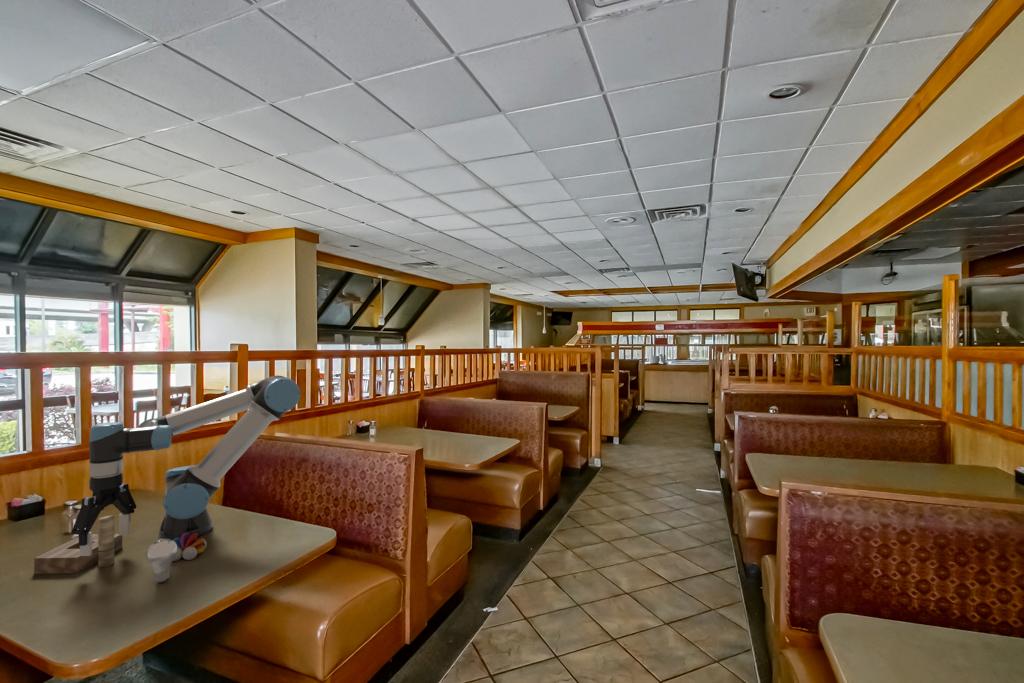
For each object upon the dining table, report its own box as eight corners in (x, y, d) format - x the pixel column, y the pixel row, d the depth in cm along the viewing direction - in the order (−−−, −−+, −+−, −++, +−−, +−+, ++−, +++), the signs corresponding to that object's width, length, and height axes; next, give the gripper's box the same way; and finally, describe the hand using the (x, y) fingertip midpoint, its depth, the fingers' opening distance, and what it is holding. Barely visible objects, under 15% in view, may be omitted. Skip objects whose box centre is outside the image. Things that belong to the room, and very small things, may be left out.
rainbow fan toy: (197, 561, 138) (197, 538, 138) (162, 563, 137) (162, 540, 137) (210, 548, 147) (211, 526, 147) (178, 550, 145) (178, 528, 145)
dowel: (117, 560, 138) (117, 515, 138) (107, 567, 134) (107, 520, 134) (105, 561, 138) (105, 515, 138) (94, 567, 134) (94, 520, 134)
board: (122, 547, 147) (122, 533, 147) (77, 572, 131) (77, 557, 131) (83, 548, 146) (83, 534, 146) (34, 573, 130) (34, 558, 130)
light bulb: (152, 591, 122) (152, 547, 122) (141, 584, 125) (141, 541, 125) (182, 579, 128) (182, 537, 127) (171, 573, 131) (171, 532, 131)
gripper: (126, 463, 148) (126, 527, 148) (53, 488, 123) (53, 565, 124) (150, 463, 149) (150, 527, 149) (82, 488, 124) (81, 565, 124)
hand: (106, 544), depth 136 cm, fingers open, 13 cm apart
